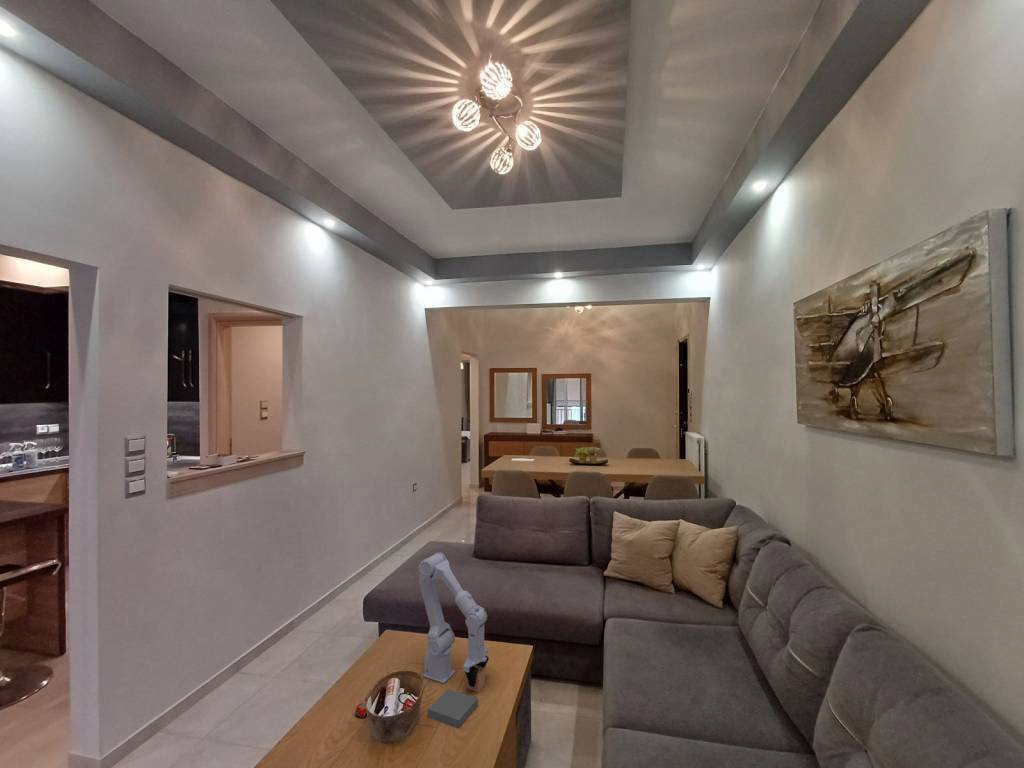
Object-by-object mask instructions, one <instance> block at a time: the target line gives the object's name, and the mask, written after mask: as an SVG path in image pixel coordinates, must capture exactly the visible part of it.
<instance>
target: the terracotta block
mask: <svg viewBox="0 0 1024 768" xmlns="http://www.w3.org/2000/svg"><path fill="white" fill-rule="evenodd" d="M474 666H475V668H478V669H479V670H478V673H477V676H476V684H475V687H471V686H469V683H468V679H467V676H466V679H465V680H466V683H465V684H466V685H465V686H466V687H465V688H466V689H467V690H471V691H474V692H477V693H479V692H480V691H481V690H482V689H483V687H485V685H486V666H485V667H481V666H478V665H474Z"/></svg>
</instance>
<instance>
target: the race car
mask: <svg viewBox="0 0 1024 768" xmlns="http://www.w3.org/2000/svg"><path fill="white" fill-rule="evenodd" d="M367 698H368V697H365V700H363V701H362V702H361V703H359V704H358V705H357V706H356V708H355V715H356V717H358V718H361V719H365V717H366V716H367V713H366V709H365V704H366V701H367ZM366 718H367V717H366Z"/></svg>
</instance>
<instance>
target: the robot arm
mask: <svg viewBox="0 0 1024 768" xmlns="http://www.w3.org/2000/svg"><path fill="white" fill-rule="evenodd" d="M417 570H418V584H419V587H420V591H421V592H420V593H421V594H422V595H421V596H422V600H423V603H424V609H425V611H426V614H427V618H428V622H429V626H430V627H429V631H428V634H427V636H426V637H427V650H426V653H425V655H424V674H423V675H422V677H424V678H427V679H430V680H433V681H436V682H439V683H443V684H445V683H446V682H447V681H448V680H449V679H450V678H451V677H452V676H453V675H455V673H456V670H455V669H452V648H453V647H452V645H453V644H454V643H455V639H456V636H455V634H454V631H453V630H452V627H451V626H450V623H448V622H446V621H445V618H444V615H443V610H442V605H441V602H440V597H439V595H438V590H437V588H436V583H435V579H437V580H442V582H444V583H443V584H445V585H446V587H447V588H448V590H450V592H451V593H452V594H453V595H454V603H455V604H456V605H457V607H458V608H459V610H460V611H461V613H462V614H463V615H464V617H465V625H466V627H467V635H468V636H467V638H468V645H467V647H468V648H467V649H468V651H467V658H466V660H465V662H464V665H463V667H462V671H463V672H464V673H465V675H466V676H467V679H468V683H469V686H471V687H475V684H476V676H477V673H478V670H479V669H478V668H475V666H474V665H478V666H481V667H485V668H486V667H487V663H488V661H489V659H490V658H489V656H488V655H486V654H488V653H489V647H488V646H485V623H486V621H487V619H488V614H487V611H486V609H485V608H484V607H482V606H480V605H478V604H477V603H476V602H475V600H474V598H473V597H472V594H471V593H469V591H468V590H464V589H463V588H462V586H461V585H460V583H459V581H458V580H457V578H456V576H455V575H454V572H452V571H453V570H452V569H451V567H450V561H449V560H448V559H447V558H446V556H445V554H444V553H442V552H440V551H439V552H436V553H434V554H432V555H431V556H429V557H427V558H424V559H422V560H421V561H420V563H419V564H418V566H417Z"/></svg>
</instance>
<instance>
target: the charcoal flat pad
mask: <svg viewBox="0 0 1024 768" xmlns="http://www.w3.org/2000/svg"><path fill="white" fill-rule="evenodd" d="M478 706H479V698H478V697H475V696H473V695H469V694H465V693H463V692H459V691H456V690H453V689H451V688H447V689H446V690H445V691H444V692H443V693H442V694H441V695H440V696H439V697H438V698H437V699H436V700H435V701H434V702H433V703H432V704H431V705H430V706H429V707H428V709H427V718H430V719H433V720H435V721H438V722H441V723H443V724H446V725H449V726H452V727H454V728H457V729H460V728H461V727H462V726H463V724H464V723H465V722H466V721H467V720H468V718H469V717H470V716H471V715H472V713H474V711H475V710H476V709H477V707H478Z"/></svg>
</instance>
